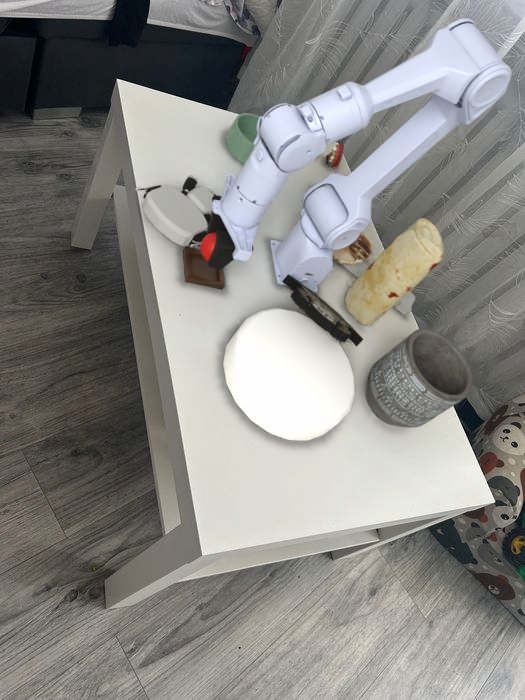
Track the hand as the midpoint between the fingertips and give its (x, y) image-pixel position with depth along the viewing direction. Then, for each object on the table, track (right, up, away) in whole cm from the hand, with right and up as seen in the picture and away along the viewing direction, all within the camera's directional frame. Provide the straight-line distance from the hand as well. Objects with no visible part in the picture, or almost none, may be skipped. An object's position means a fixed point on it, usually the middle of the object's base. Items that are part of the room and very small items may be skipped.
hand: (213, 253), depth 89 cm
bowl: (+5, +24, +26) cm, 35 cm away
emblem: (+18, -7, +11) cm, 22 cm away
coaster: (-2, -2, +3) cm, 4 cm away
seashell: (+22, +5, +14) cm, 26 cm away
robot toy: (-6, +6, +7) cm, 11 cm away
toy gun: (+29, +10, +30) cm, 43 cm away
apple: (-1, -1, +1) cm, 1 cm away
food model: (+24, -7, +17) cm, 30 cm away
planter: (+27, -23, +7) cm, 36 cm away
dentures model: (+17, +29, +34) cm, 48 cm away
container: (+11, -19, -1) cm, 22 cm away
